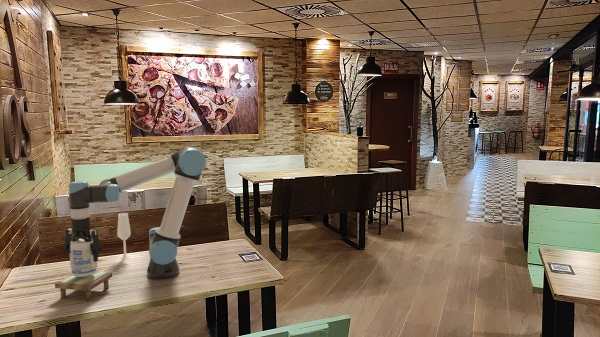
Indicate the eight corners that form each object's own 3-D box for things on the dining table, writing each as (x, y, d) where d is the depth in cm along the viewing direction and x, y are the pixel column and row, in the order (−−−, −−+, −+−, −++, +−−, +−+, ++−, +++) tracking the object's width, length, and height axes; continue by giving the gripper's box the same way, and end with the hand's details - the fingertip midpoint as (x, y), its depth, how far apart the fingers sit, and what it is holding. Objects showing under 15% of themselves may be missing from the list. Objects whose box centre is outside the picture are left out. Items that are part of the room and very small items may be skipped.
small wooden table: (113, 287, 196) (112, 271, 195) (89, 302, 181) (88, 285, 180) (81, 284, 199) (80, 269, 198) (56, 299, 184) (54, 282, 183)
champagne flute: (132, 254, 241) (130, 212, 238) (131, 258, 235) (129, 215, 231) (119, 255, 239) (116, 213, 236) (118, 259, 232) (115, 216, 229)
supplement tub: (73, 279, 182) (70, 245, 180) (70, 272, 190) (68, 239, 188) (98, 274, 188) (96, 241, 186) (94, 268, 195) (92, 236, 194)
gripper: (109, 216, 187) (112, 266, 190) (63, 214, 191) (67, 263, 194) (98, 220, 180) (101, 272, 183) (51, 218, 184) (55, 269, 187)
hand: (84, 267), depth 189 cm, fingers closed on supplement tub, 9 cm apart
